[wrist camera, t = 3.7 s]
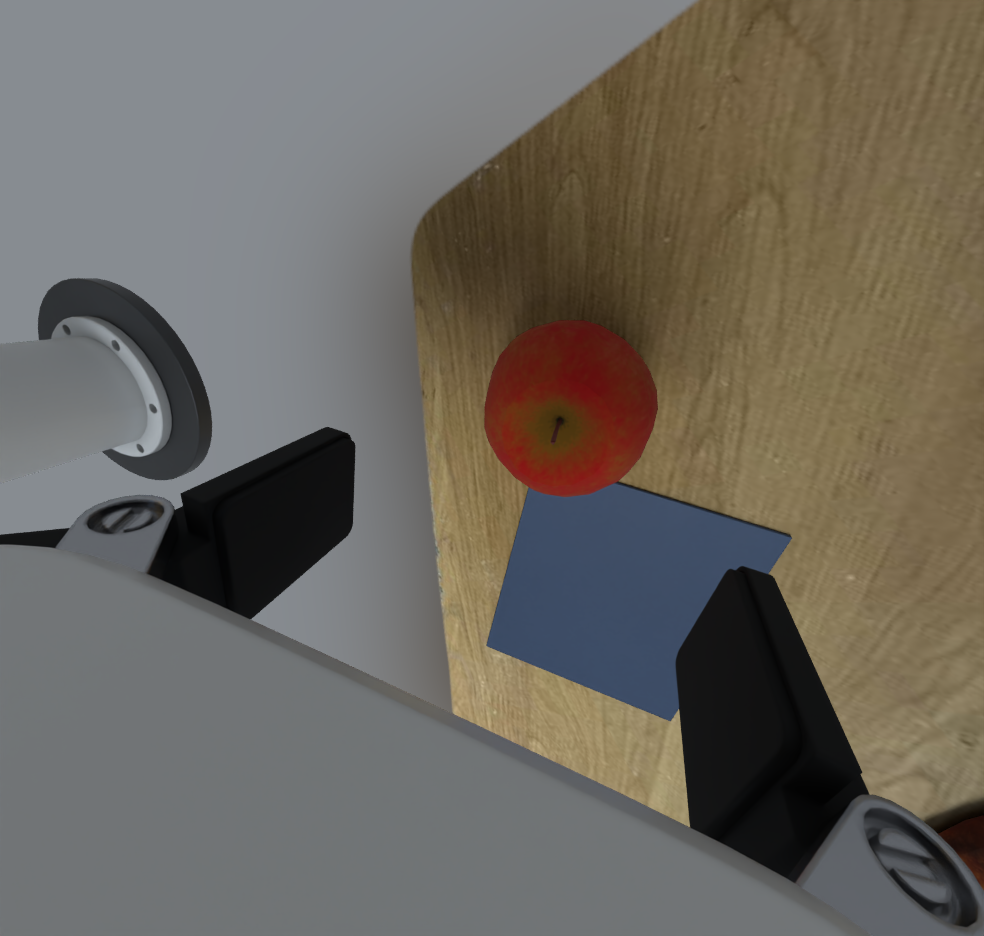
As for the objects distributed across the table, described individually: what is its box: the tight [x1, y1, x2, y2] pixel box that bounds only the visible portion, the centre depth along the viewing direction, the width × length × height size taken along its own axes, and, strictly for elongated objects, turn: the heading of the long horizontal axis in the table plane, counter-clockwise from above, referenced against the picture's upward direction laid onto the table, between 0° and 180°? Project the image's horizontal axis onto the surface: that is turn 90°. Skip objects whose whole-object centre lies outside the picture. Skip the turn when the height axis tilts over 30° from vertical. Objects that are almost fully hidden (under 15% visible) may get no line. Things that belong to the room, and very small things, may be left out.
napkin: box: [486, 482, 792, 721], centre depth 32 cm, size 17×20×1 cm
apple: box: [485, 320, 658, 497], centre depth 22 cm, size 9×8×11 cm
